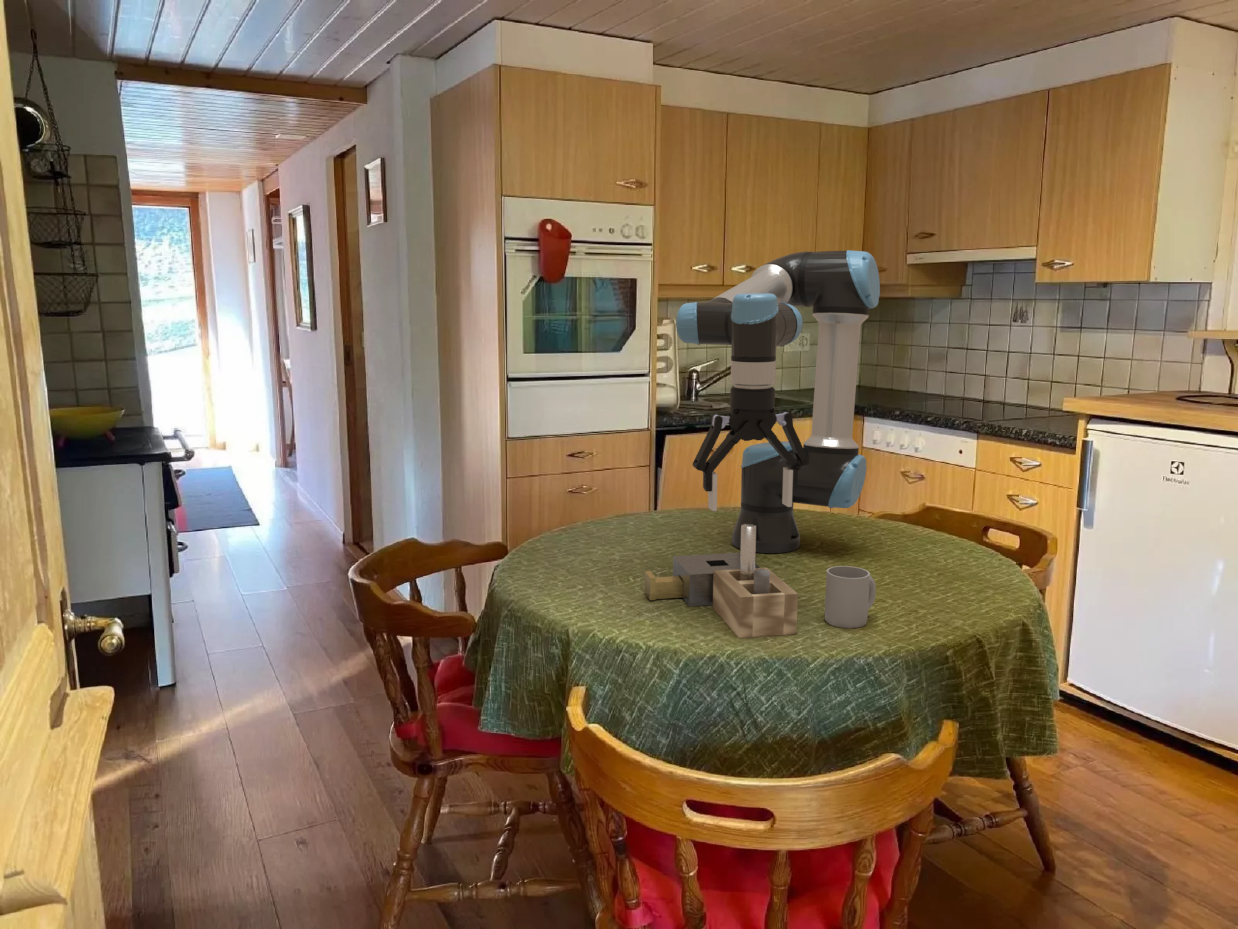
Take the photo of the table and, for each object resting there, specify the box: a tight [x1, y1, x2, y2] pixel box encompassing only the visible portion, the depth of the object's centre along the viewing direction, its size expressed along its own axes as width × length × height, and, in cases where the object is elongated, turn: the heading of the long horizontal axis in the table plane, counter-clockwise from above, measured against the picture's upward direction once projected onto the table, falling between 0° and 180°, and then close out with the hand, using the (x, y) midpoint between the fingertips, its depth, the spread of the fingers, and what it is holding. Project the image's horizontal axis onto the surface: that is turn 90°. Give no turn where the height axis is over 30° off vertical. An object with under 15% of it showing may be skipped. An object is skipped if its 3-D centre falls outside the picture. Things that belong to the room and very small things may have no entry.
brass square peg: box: [644, 570, 683, 601], centre depth 173 cm, size 10×4×4 cm, turn 101°
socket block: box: [672, 552, 761, 607], centre depth 174 cm, size 14×12×6 cm
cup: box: [824, 565, 877, 629], centre depth 160 cm, size 7×10×9 cm
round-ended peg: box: [739, 524, 756, 581], centre depth 163 cm, size 3×3×16 cm
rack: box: [712, 567, 799, 639], centre depth 160 cm, size 10×15×10 cm, turn 11°
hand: (750, 507), depth 161 cm, fingers open, 13 cm apart
